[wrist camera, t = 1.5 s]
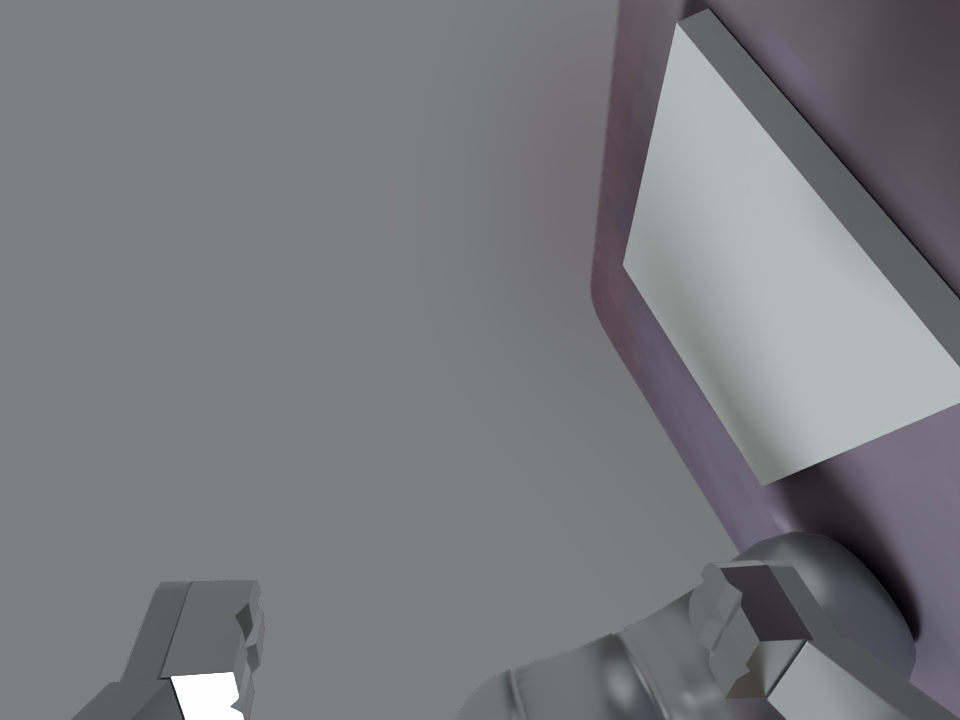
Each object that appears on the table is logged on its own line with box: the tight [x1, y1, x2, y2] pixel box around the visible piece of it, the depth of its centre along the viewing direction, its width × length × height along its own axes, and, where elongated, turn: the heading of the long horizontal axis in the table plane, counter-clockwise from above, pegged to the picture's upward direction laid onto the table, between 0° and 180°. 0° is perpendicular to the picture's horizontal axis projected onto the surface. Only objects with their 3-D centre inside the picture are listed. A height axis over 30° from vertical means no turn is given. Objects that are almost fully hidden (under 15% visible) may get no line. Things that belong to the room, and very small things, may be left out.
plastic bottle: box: [454, 532, 916, 720], centre depth 22 cm, size 6×7×20 cm
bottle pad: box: [623, 8, 960, 486], centre depth 21 cm, size 14×12×1 cm
